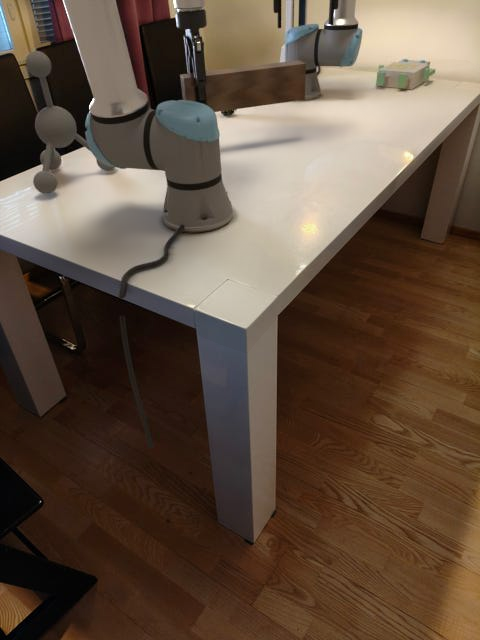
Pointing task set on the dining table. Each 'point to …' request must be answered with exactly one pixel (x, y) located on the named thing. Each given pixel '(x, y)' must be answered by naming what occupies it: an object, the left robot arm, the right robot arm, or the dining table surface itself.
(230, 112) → the grenade
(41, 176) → the molecular model
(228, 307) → the dining table surface
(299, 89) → the bar
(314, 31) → the right robot arm
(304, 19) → the electronic device
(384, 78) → the grey box with connectors
